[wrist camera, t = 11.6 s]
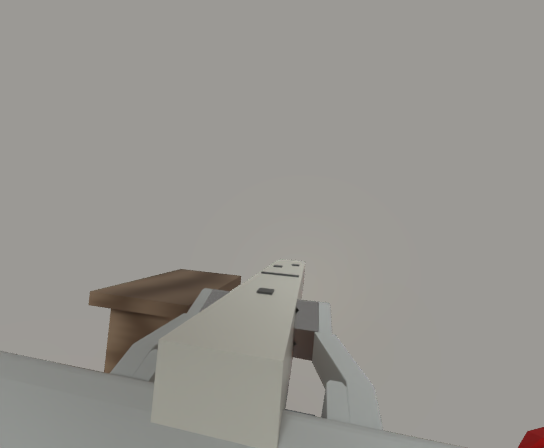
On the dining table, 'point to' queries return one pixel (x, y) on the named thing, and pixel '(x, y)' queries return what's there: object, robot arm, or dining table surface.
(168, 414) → the domino bar
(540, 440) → the water bottle
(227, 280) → the walnut pedestal
